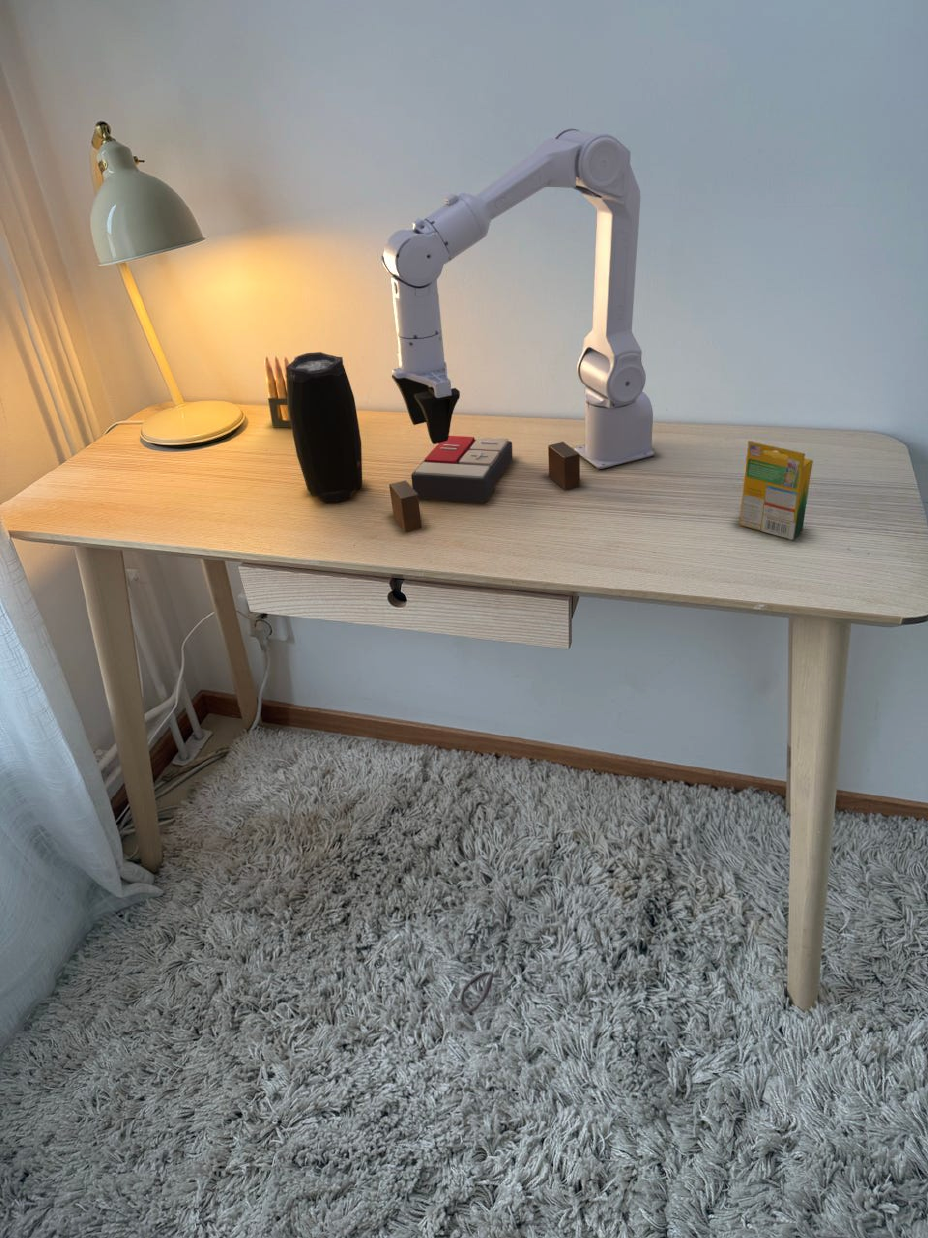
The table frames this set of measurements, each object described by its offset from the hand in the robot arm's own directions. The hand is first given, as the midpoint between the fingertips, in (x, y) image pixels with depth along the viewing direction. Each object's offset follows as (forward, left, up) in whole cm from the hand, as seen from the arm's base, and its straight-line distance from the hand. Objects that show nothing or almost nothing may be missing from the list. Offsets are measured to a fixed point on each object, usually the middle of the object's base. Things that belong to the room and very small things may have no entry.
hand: (429, 432), depth 125 cm
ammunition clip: (+10, -38, -10) cm, 41 cm away
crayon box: (-34, +30, -10) cm, 46 cm away
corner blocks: (-6, +5, -10) cm, 13 cm away
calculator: (-6, -4, -10) cm, 13 cm away
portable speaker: (+12, -10, -10) cm, 19 cm away
